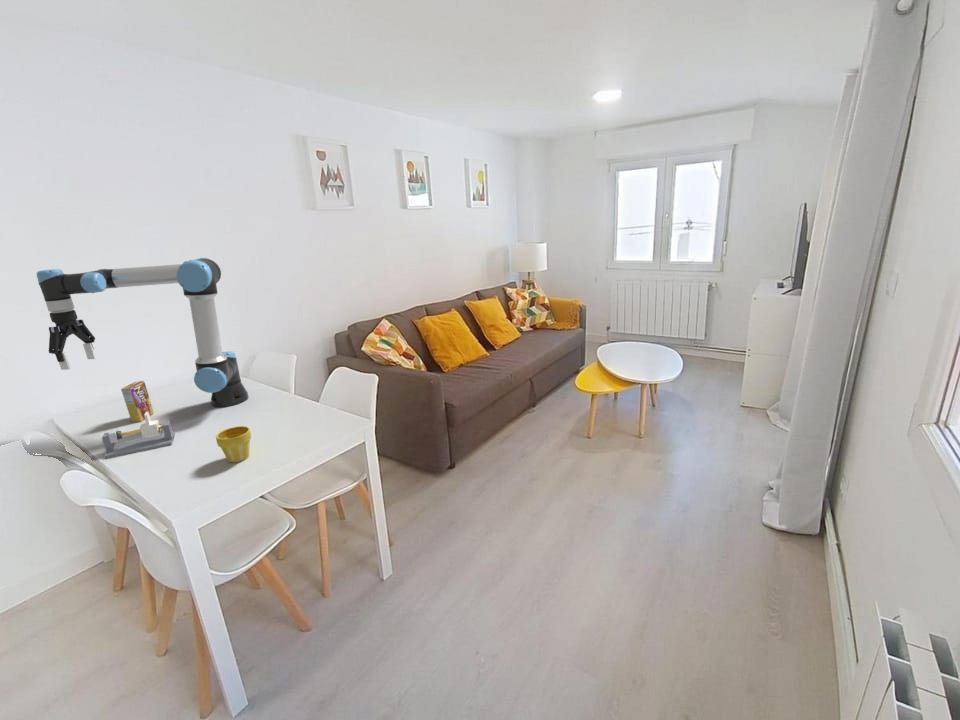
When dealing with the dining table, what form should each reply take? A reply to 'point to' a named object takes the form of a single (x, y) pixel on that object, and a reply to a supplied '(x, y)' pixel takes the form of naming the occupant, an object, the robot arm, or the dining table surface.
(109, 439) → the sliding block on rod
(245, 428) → the plant pot
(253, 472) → the dining table surface
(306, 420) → the dining table surface
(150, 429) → the cream slider carriage
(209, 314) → the robot arm
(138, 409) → the candy box
